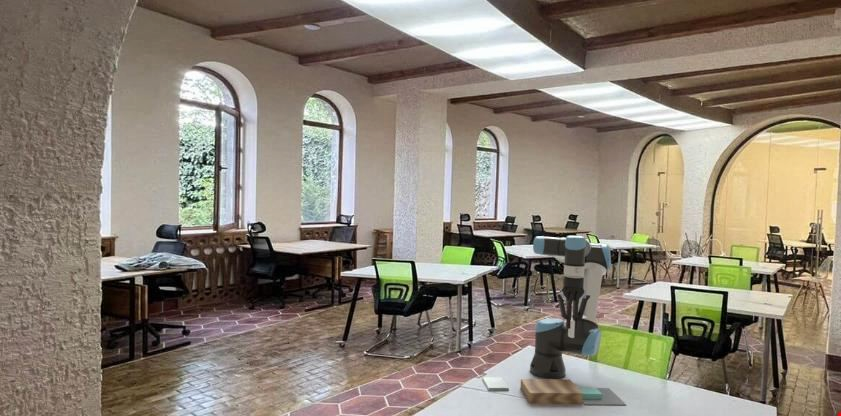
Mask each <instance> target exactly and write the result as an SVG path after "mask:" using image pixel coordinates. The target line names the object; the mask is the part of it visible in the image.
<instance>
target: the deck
mask: <svg viewBox="0 0 841 416" xmlns="http://www.w3.org/2000/svg"><path fill="white" fill-rule="evenodd" d="M578 388H579V387H577V386H576V384H575V383H574V382H573V381H572V380H571V379H560V378H544V379H543V378H540V379H539V378H520V387H519V389H520V391H521V392H522V394H523V396H524V397H525V399H526V400H527V402H528V403H529V404H546V405H547V404H548V405H550V404H552V405H553V404H554V405H555V404H558V405H559V404H561V405H563V404H564V405H565V404H567V405H571V404H573V405H583V403H582V394H583V393H582V392H581V391H580V390H579V389H578Z"/></svg>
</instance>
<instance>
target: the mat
mask: <svg viewBox="0 0 841 416" xmlns="http://www.w3.org/2000/svg"><path fill="white" fill-rule="evenodd" d="M596 388H597V389H598V390H599V391H600V392H601V393H602V399H582V405H584V406H627V404H626V403H625V401H624V400H622V399H621V398H620V397H619V396H618V395H617V394H616V393H615V392H614V391H612V389H610V387H596Z"/></svg>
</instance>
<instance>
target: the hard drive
mask: <svg viewBox="0 0 841 416" xmlns="http://www.w3.org/2000/svg"><path fill="white" fill-rule="evenodd" d="M481 379H482V382H483V383H484V386H485V387H486V389H487V390H488V391H489V392H490V391H491V392H493V391H497V392H498V391H499V392H502V391H505V392H507V391H510V388H509V386H508V385H507V383H506V382H505V380H504V379H503V378H502V376H482V377H481Z"/></svg>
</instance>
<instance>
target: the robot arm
mask: <svg viewBox="0 0 841 416" xmlns="http://www.w3.org/2000/svg"><path fill="white" fill-rule="evenodd" d="M533 239H534V240H533V244H532V245H533V246H532V249H533V253H534V254H536V255H541V256H548V257H552V258H555V260H557V261H558V262H559V263H563V275H564V276H563V286H562V289H561V291H560V292H557V293H556V294H555V296H556V297H557V299H558V305H559V310H560V315H561V317H562V318H563V319H561V318H555V317H554V318H553V317H550V318H549V317H548V318H544V319H543V318H542V319H540V320H538V321H537V322H536V325H535V330H534V332H535V335H534V336H535V339H534V341H535V342H534V355H533V357H532V360H531V362H530V365H529V371H530V373H531V374H533V375H534V376H537V377H541V378H544V379H560V378H564V377H565V376H566V365H565V362H564V359H563V352H564V353H570V354H575V355H581V356H589V357H593V356H595V355H596V354H597V353H598V351H599V348H600V344H601V340H602V339H601V338H602V330H601V329H600V328H599V324H598V323H597V322H596V319H597V313H598V306H599V299H600V293H601V288H602V287H601V286H602V285H601V284H602V281H603V280H602V279H603V276H605V275H606V274H607V272H608V271H609V270H612V257H611V248H610V245H608V244H606V243H601V242H599V243H597V242H594V243H593V242H589V241H588V240H587V238H586V237H584V236H582V235H567V236H566V237H553V236H544V235H541V236H540V235H539V236H537V235H536V236H535V237H534V238H533ZM564 297H565V298H566V307H565V301H564ZM564 320H566V321H565V322H564Z"/></svg>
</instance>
